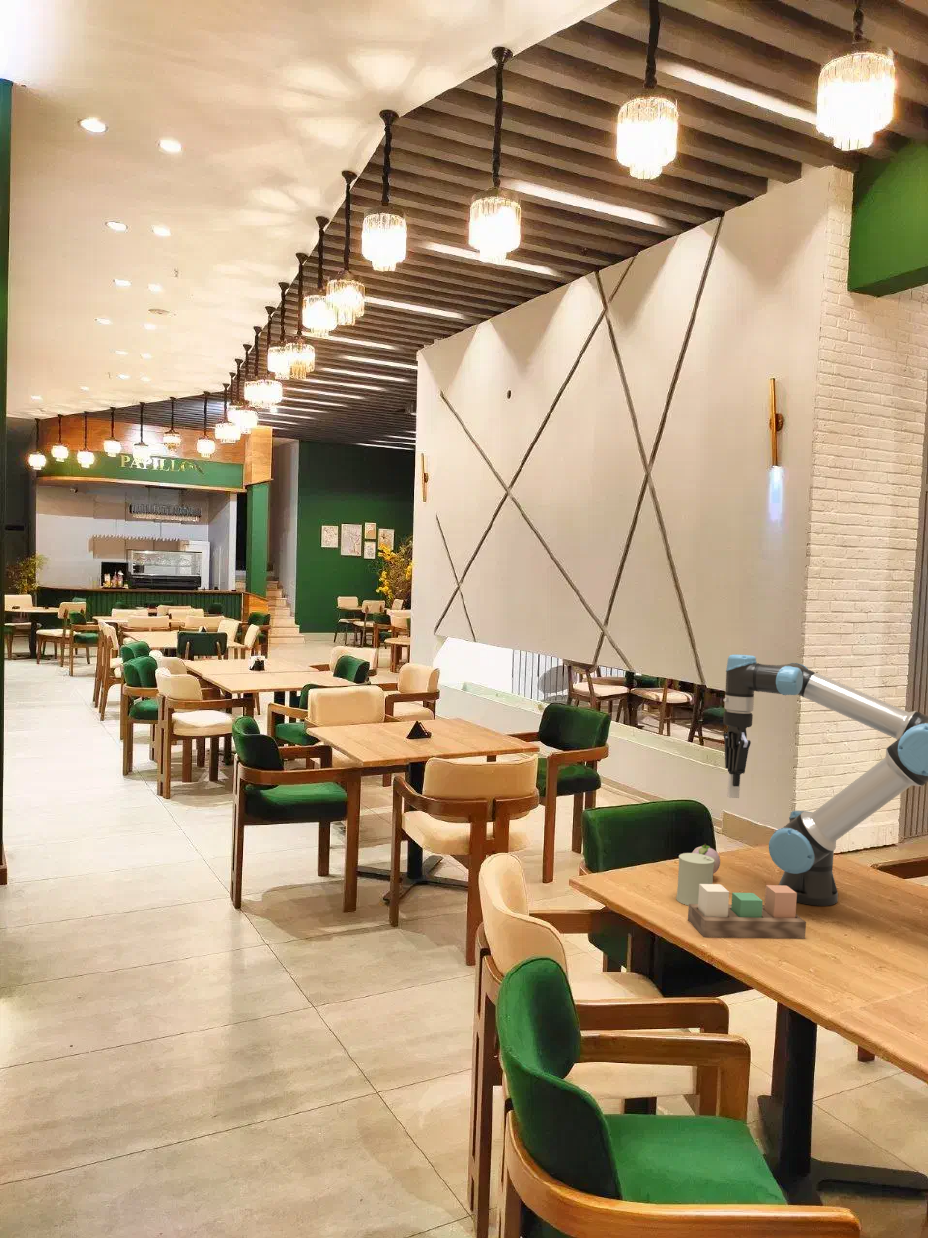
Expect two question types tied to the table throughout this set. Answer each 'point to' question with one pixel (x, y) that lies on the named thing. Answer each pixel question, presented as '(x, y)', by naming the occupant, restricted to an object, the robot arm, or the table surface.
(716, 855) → the decorative fruit
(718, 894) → the cream block
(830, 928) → the table surface
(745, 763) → the robot arm
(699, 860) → the can
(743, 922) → the walnut board
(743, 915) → the green block
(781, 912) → the terracotta block
